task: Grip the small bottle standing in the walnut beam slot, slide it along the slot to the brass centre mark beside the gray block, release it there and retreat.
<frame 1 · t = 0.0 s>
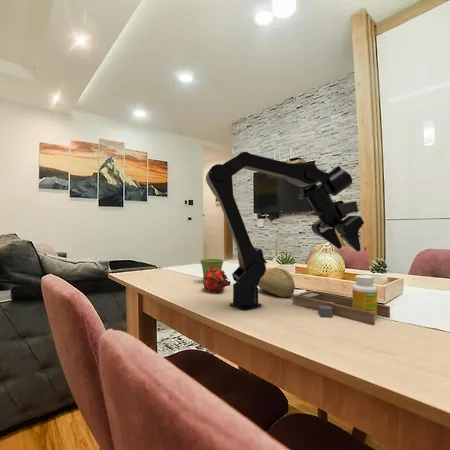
hand: (349, 249, 87), 15 cm above the table, tool tilted 35°, fingers open, 9 cm apart
steel counterweight: (310, 303, 83), on the table
supplement bottle: (364, 317, 72), on the table
plant pot: (212, 282, 115), on the table
walnut beam: (339, 310, 77), on the table
dragon fruit: (215, 291, 100), on the table
gray block: (325, 315, 73), on the table
bread roll: (275, 294, 96), on the table
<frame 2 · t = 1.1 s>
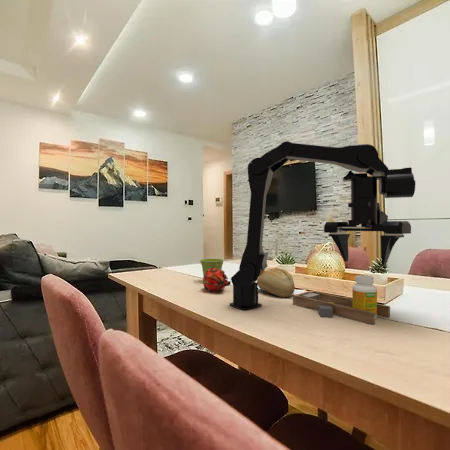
hand: (364, 263, 72), 13 cm above the table, tool pointing down, fingers open, 9 cm apart
nothing on the table moved.
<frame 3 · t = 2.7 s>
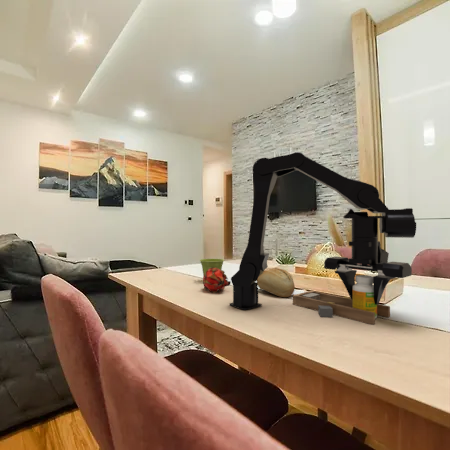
hand: (364, 301, 72), 4 cm above the table, tool pointing down, fingers closed on supplement bottle, 5 cm apart
supplement bottle: (364, 317, 72), on the table, touching gripper
everything else where it was.
when the fingers open (4 cm above the table, at t = 3.7 s): supplement bottle moves 1 cm, on the table.
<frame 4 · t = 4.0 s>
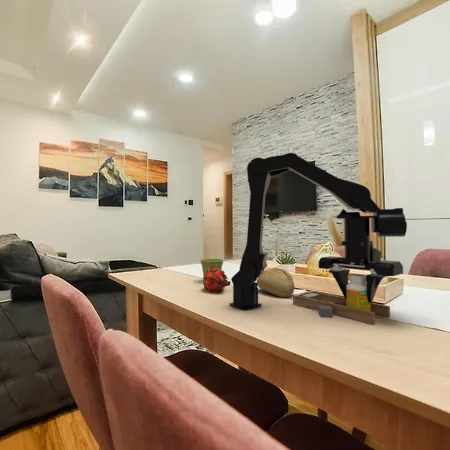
hand: (358, 300, 73), 4 cm above the table, tool pointing down, fingers open, 6 cm apart
supplement bottle: (358, 315, 73), on the table, touching gripper
everything else where it was.
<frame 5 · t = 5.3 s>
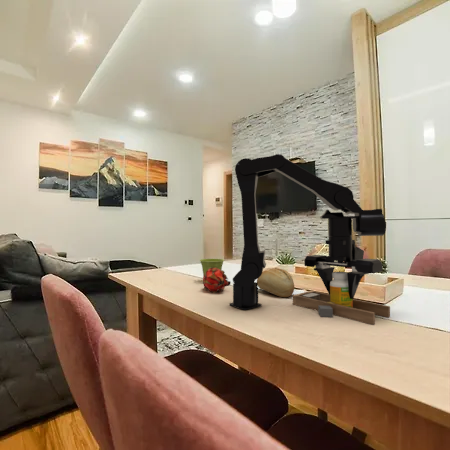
hand: (341, 296, 76), 4 cm above the table, tool pointing down, fingers closed on supplement bottle, 5 cm apart
supplement bottle: (341, 311, 76), on the table, touching gripper
everything else where it was.
when the fingers open (4 cm above the table, at t = 6.0 s): supplement bottle stays where it is, on the table.
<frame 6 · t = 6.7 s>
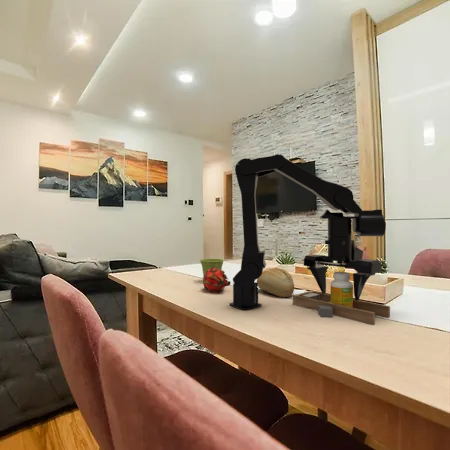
hand: (339, 296, 77), 4 cm above the table, tool pointing down, fingers open, 9 cm apart
supplement bottle: (341, 311, 76), on the table
everything else where it was.
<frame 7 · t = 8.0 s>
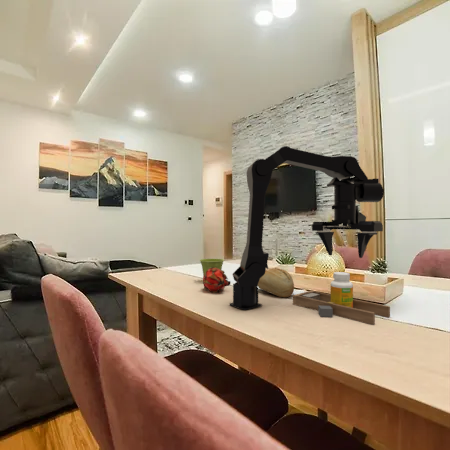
hand: (345, 256, 85), 13 cm above the table, tool pointing down, fingers open, 9 cm apart
nothing on the table moved.
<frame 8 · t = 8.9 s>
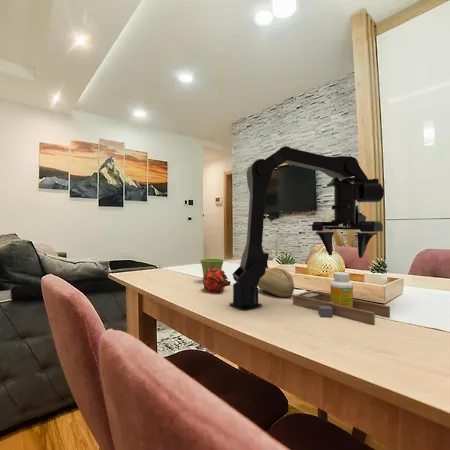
hand: (345, 256, 85), 13 cm above the table, tool pointing down, fingers open, 9 cm apart
nothing on the table moved.
at the end: supplement bottle 0.5 cm from the target spot, on the table; supplement bottle tilted 0°; the gripper is holding nothing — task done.
